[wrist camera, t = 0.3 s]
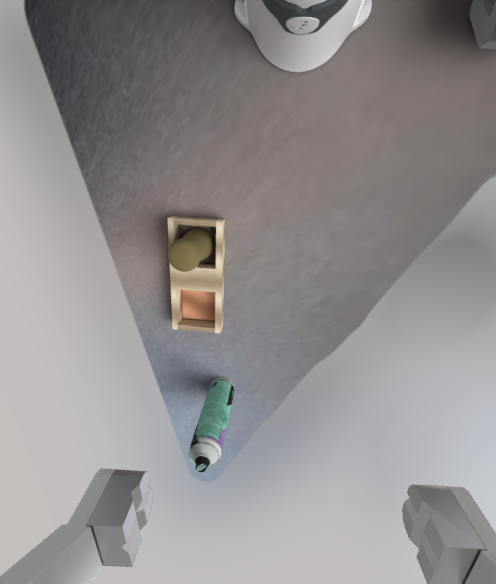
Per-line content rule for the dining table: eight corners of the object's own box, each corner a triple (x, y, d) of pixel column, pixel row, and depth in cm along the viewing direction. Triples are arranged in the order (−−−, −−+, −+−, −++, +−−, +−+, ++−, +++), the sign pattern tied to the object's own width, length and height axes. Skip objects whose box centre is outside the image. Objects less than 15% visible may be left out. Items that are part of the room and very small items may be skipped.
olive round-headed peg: (184, 259, 56) (163, 276, 46) (182, 226, 54) (159, 237, 44) (215, 260, 55) (201, 277, 45) (214, 227, 53) (199, 238, 43)
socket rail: (173, 215, 53) (167, 217, 50) (224, 219, 53) (221, 221, 50) (177, 322, 61) (172, 329, 58) (222, 326, 60) (220, 333, 57)
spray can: (207, 392, 66) (179, 473, 48) (215, 373, 65) (189, 451, 46) (230, 400, 67) (211, 485, 48) (238, 382, 65) (222, 463, 46)
